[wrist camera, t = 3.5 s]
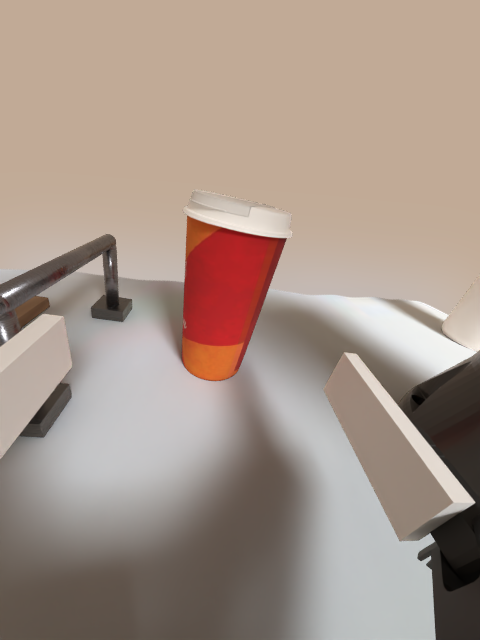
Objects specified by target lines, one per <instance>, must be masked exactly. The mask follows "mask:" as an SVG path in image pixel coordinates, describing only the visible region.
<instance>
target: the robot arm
mask: <svg viewBox="0 0 480 640" xmlns="http://www.w3.org/2000/svg"><path fill="white" fill-rule="evenodd" d="M72 366H73V364H72V359H71V353H70V348H69V343H68V337H67V332H66V326H65V321H64V316H57V315H49V314H42V315H41V316H40V317H38V318H37V319H36V320H34V321H33V322H32V323H31V324H29V325H28V326H27V327H25V328H24V329H23V330H22V331H20V332H19V333H18V334H16V335H15V336H14V337H12V338H11V339H10V340H9V341H7V342H6V343H5V344H3V345H2V346H1V347H0V459H1V458H2V456H3V455H4V454H5V453H6V451H7V450H8V449H9V447H10V446H11V445H12V444H13V442H14V441H15V440H16V438H17V437H18V436H19V435H20V433H21V432H22V431H23V429H24V428H25V427H26V425H27V424H28V423H29V422H30V420H31V419H32V418H33V416H34V415H35V414H36V413H37V411H38V410H39V409H40V407H41V406H42V405H43V404H44V402H45V401H46V400H47V398H48V397H49V396H50V394H51V393H52V392H53V391H54V389H55V388H56V387H57V385H58V384H59V383H60V382H61V380H62V379H63V378H64V376H65V375H66V374H67V373H68V371H69V370H70V369H71V367H72ZM323 390H324V392H325V394H326V396H327V398H328V400H329V402H330V404H331V406H332V408H333V410H334V412H335V414H336V416H337V418H338V420H339V422H340V424H341V426H342V428H343V430H344V432H345V434H346V436H347V438H348V440H349V442H350V444H351V445H352V447H353V449H354V451H355V453H356V455H357V457H358V459H359V461H360V463H361V465H362V467H363V469H364V471H365V473H366V475H367V477H368V479H369V481H370V483H371V485H372V487H373V489H374V491H375V493H376V495H377V497H378V499H379V501H380V503H381V505H382V507H383V509H384V511H385V513H386V515H387V517H388V519H389V521H390V523H391V525H392V527H393V529H394V531H395V533H396V535H397V537H398V539H399V541H417V540H420V539H422V538H423V537H425V536H426V535H428V534H429V533H431V535H432V536H433V538H434V540H435V541H436V542H434V543H432V544H431V545H429V546H428V547H426V548H424V549H423V550H421V551H420V552H419V553H418V558H417V559H419V560H420V561H422V560H424V559H426V558H427V557H429V556H431V560H430V561H429V562H428V563H427V564H426V565H427V566H428V567H429V568H430V569H432V579H433V597H434V615H435V633H436V640H480V350H479V351H478V352H477V353H476V354H474V355H473V356H472V357H470V358H468V359H466V360H464V361H462V362H460V363H459V364H457V365H455V366H453V367H451V368H449V369H447V370H445V371H444V372H442V373H440V374H438V375H436V376H434V377H432V378H430V379H429V380H427V381H425V382H423V383H421V384H419V385H417V386H415V387H414V388H412V389H411V390H410V391H409V392H408V393H407V394H406V395H405V396H404V397H403V399H402V400H401V401H400V402H399V404H398V405H397V404H396V403H395V401H394V400H393V399H392V398H391V396H390V395H389V394H388V393H387V391H386V390H385V389H384V388H383V386H382V385H381V384H380V383H379V381H378V380H377V379H376V378H375V376H374V375H373V374H372V373H371V371H370V370H369V369H368V368H367V366H366V365H365V364H364V363H363V361H362V360H361V359H360V358H359V356H358V355H357V354H354V353H346V352H343V354H342V356H341V358H340V360H339V361H338V363H337V365H336V367H335V369H334V371H333V372H332V374H331V376H330V378H329V380H328V382H327V383H326V385H325V387H324V389H323Z"/></svg>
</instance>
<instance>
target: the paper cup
mask: <svg viewBox="0 0 480 640" xmlns="http://www.w3.org/2000/svg"><path fill="white" fill-rule="evenodd" d="M183 212H184V213H185V214H186V215H187V236H186V260H185V262H186V263H185V284H184V308H183V336H182V360H183V364H184V366H185V368H186V369H187V370H188V371H189V372H190V373H191V374H192V375H194V376H196V377H198V378H201V379H204V380H209V381H221V380H225V379H228V378H230V377H232V376H233V375H235V374H236V372H237V371H238V369H239V367H240V365H241V362H242V360H243V357H244V355H245V352H246V349H247V347H248V344H249V341H250V339H251V336H252V333H253V330H254V328H255V325H256V322H257V319H258V317H259V314H260V311H261V308H262V306H263V303H264V300H265V297H266V294H267V292H268V289H269V286H270V283H271V280H272V278H273V275H274V272H275V269H276V267H277V264H278V261H279V258H280V255H281V253H282V250H283V247H284V245H285V242H286V239H287V238H290V237H292V231H291V230H290V223H291V213H289V212H287V211H284V210H281V209H276V208H274V207H272V206H268V205H265V204H259V203H257V202H253V201H249V200H244V199H240V198H236V197H232V196H228V195H223V194H218V193H213V192H208V191H202V190H194V191H193V192H192V196H191V198H190V200H189V204H188V205H187V206H185V207H184V209H183Z"/></svg>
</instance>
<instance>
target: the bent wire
mask: <svg viewBox="0 0 480 640" xmlns="http://www.w3.org/2000/svg"><path fill="white" fill-rule="evenodd" d="M101 254H103V267H104V280H105V293H106V295H103V296H102V297H101V298H100V299H99V300H98V301H97V302H96V303H95V304H94V305H93V306H92V307H91V311H92V318H99V319H106V320H114V321H121V322H123V321H124V319H125V318H126V317H127V315H128V314H129V312H130V311H131V309H132V299H127V298H120V297H119V293H118V272H117V250H116V239H115V238H114V237H113V236H112V235H109V234H106V235H103V236H101V237H99V238H97V239H95V240H93V241H91V242H89V243H87V244H85V245H83V246H80V247H78V248H76V249H74V250H72V251H70V252H68V253H66V254H64V255H62V256H59V257H57V258H55V259H53V260H51V261H49V262H47V263H45V264H43V265H41V266H38V267H37V268H34V269H32V270H30V271H28V272H26V273H24V274H22V275H20V276H18V277H15V278H13V279H11V280H9V281H7V282H5V283H3V284H1V285H0V347H1V346H2V345H3V344H5V343H6V342H7V341H9V340H10V339H11V338H12V337H14V336H15V335H16V334H18V333H19V332H20V331H21V328H20V324H19V321H18V317H17V314H16V311H15V308H17V307H18V306H20V305H22V304H23V303H25V302H26V301H28V300H30V299H31V298H33V297H34V296H36V295H38V294H39V293H41V292H42V291H44V290H46V289H47V288H49V287H50V286H52V285H53V284H55V283H57V282H58V281H60V280H61V279H63V278H65V277H66V276H68V275H69V274H71V273H73V272H74V271H76V270H77V269H79V268H80V267H82V266H84V265H85V264H87V263H88V262H90V261H92V260H93V259H95V258H96V257H98V256H100V255H101ZM71 397H72V396H71V391H70V386H69V384H61V383H59V384H58V385H57V387H56V388H55V389H54V391H53V392H52V393H51V394H50V396H49V397H48V398H47V400H46V401H45V402H44V404H43V405H42V406H41V407H40V409H39V410H38V411H37V413H36V414H35V415H34V416H33V418H32V419H31V420H30V422H29V423H28V424H27V425H26V427H25V428H24V429H23V431H22V432H21V433H20V435H19V436H26V437H44V436H45V435H46V434H47V432H48V431H49V429H50V428H51V426H52V425H53V423H54V422H55V420H56V419H57V417H58V416H59V415H60V413H61V412H62V410H63V409H64V407H65V406H66V404H67V403H68V401H69V400H70V398H71Z"/></svg>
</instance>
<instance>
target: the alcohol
mask: <svg viewBox="0 0 480 640" xmlns="http://www.w3.org/2000/svg"><path fill="white" fill-rule="evenodd" d="M442 331H443V333H444V334H445V335H446V336H447V337H449V338H450V339H452V340H453V341H455V342H457V343H458V344H460V345H462V346H464V347H466V348H469V349H471V350H474V351H476V352H478V351H479V350H480V275H479V276H478V277H477V279H476V280H475V281H474V283H473V284H472V285H471V287H470V288H469V289H468V291H467V292H466V293H465V295H464V296H463V297H462V299H461V300H460V301H459V303H458V304H457V305H456V307H455V308H454V309H453V311H452V312H451V313H450V315H449V316H448V317H447V318H446V320H445V321H444V322H443V324H442Z"/></svg>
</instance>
